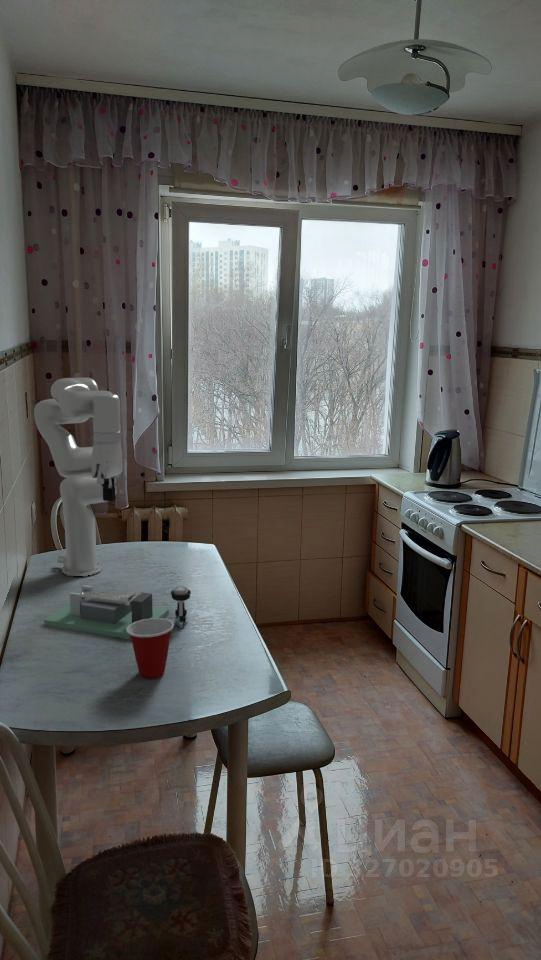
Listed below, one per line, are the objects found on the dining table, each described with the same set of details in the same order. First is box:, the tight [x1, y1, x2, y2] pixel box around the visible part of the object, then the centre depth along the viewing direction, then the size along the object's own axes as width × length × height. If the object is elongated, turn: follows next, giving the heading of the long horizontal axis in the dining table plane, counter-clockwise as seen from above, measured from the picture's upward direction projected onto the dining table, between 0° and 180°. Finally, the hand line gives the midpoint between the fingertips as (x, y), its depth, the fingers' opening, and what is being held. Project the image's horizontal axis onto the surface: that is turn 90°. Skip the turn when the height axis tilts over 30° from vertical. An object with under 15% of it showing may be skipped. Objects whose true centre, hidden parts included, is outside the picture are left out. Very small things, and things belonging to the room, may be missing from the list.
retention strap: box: [80, 590, 138, 605], centre depth 191 cm, size 17×4×2 cm, turn 72°
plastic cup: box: [126, 618, 175, 680], centre depth 162 cm, size 11×11×12 cm
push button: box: [170, 585, 192, 629], centre depth 189 cm, size 7×5×10 cm
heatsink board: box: [43, 584, 170, 641], centre depth 191 cm, size 28×18×8 cm, turn 72°
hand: (109, 500), depth 203 cm, fingers closed
